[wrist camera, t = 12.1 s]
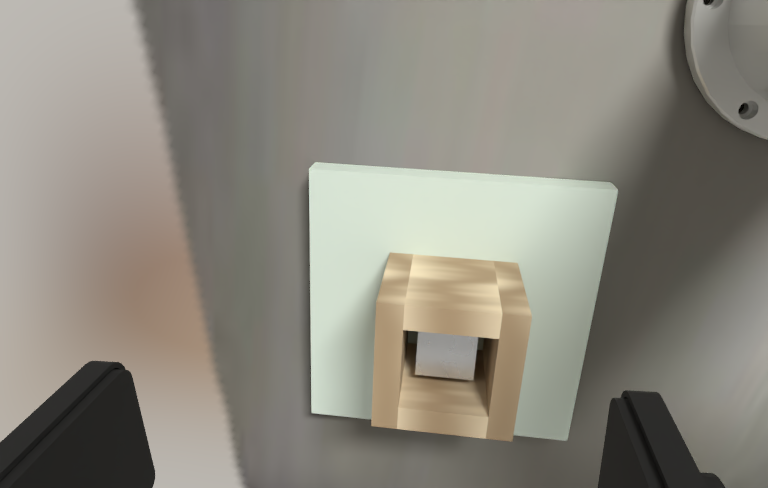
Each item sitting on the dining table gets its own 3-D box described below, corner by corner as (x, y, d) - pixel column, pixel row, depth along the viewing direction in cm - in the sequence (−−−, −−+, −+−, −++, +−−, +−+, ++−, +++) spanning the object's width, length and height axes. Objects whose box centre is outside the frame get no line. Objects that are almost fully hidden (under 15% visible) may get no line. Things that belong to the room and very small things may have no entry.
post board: (610, 182, 30) (643, 215, 25) (562, 424, 36) (581, 491, 31) (315, 162, 31) (288, 189, 26) (316, 398, 37) (295, 458, 32)
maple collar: (517, 262, 30) (531, 316, 25) (502, 371, 33) (512, 441, 27) (389, 252, 31) (376, 302, 26) (384, 359, 34) (371, 426, 28)
